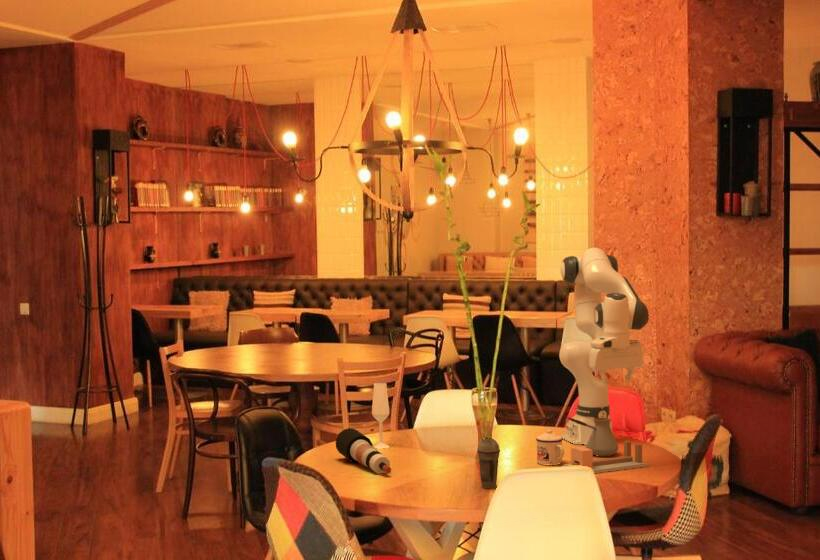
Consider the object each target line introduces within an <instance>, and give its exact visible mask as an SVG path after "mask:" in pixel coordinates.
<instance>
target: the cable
mask: <svg viewBox="0 0 820 560" xmlns="http://www.w3.org/2000/svg"><path fill="white" fill-rule="evenodd" d="M373 446H374V444H373V442H372V441H371V439H370V438H369V437H368V436H366V435H364V434H363V433H362V432H360V431H359V430H358V429H355V428H350V427H349V428H346V429H343V430H342V431H340V432H339V433H338V434H337V437H336V439H335V447H336V448H335V449H336V450H337V452H338V453H339V454H340V455H342V456H343V457H344V458H346V459H347V460H348V461H349V462H351V463H353V464H361V465H363V466H364V467H366V468H368V469H370V470H371V471H373V472H374V473H376V474H377V475H382V474H381V473H384V474H389V473H390V474H391V472H392V468H391V462H390V460H389V458H388V457H387V456H385V455H383V453H381V452H380V451H378V449H376V448H374V447H373Z"/></svg>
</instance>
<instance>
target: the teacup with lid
mask: <svg viewBox="0 0 820 560" xmlns="http://www.w3.org/2000/svg"><path fill="white" fill-rule="evenodd" d="M535 440H536V462H537V464H538V463H539V464H538V465H540V464H550V465H551V464H552V465H555V464H558V463H561V462H562V463H563V457H564V454H565V450H564V447H563V440H564V439H562V437H561V436H560V435H559V434H556V433H555V432H553V430H552V429H546V432H544V433H542V434H540V435H537V436H536V439H535ZM562 463H561V464H562ZM555 466H556V465H555Z"/></svg>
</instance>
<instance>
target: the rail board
mask: <svg viewBox="0 0 820 560" xmlns="http://www.w3.org/2000/svg"><path fill="white" fill-rule="evenodd" d="M623 452H624V453H623V454H624V455H623V456H618V457H611V458H610V457H609V458H601V459H594V460H593V467H592V469H593V471H594V472H595V473H597V474H601V473H600V472H604V473H609V472H608V471H612V472H617V471H616V470H619V471H625V470H624V469H627V470H633V469H632V468H634V469H641V468H640V467H642V468H647V467H648V463H647V462H644V461H643V445H642V444H640V443H637V444H634V458H633V456H632V442H631V441H630V440H624V441H623ZM568 465H571V463H564V464H563V465H562V467H563V466H568ZM572 465H580V463H579V462H577V463H572Z"/></svg>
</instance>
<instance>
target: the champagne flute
mask: <svg viewBox="0 0 820 560" xmlns="http://www.w3.org/2000/svg"><path fill="white" fill-rule="evenodd" d="M389 403H390V402H389V397H388V386H387V383H385V382H377V383H376V382H375V383H373V393H372V405H371V415H372V417H373V418H374V419H375V420H377V422H379V423H378V425H379V427H378V428H379V429H378V430H379V431H378V433H379V442H378V443H376V444H375V445H374V444H373V447H374V448H375V449H377V448H378V449H379V450H384V449H383V448H385V449H389V448H390V447H391V446H390V445H388V444H387V443H385V442H384V440H383V437H384V436H383V434H384V433H383V422H384V421H385V420H386V419H387V418H388V417H389V415H390V406H389ZM378 449H377V450H378Z"/></svg>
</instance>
